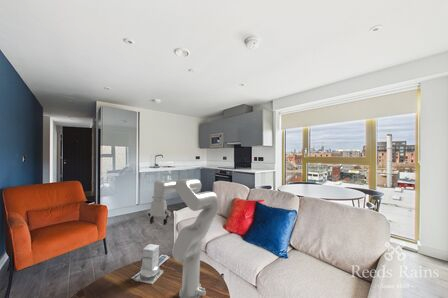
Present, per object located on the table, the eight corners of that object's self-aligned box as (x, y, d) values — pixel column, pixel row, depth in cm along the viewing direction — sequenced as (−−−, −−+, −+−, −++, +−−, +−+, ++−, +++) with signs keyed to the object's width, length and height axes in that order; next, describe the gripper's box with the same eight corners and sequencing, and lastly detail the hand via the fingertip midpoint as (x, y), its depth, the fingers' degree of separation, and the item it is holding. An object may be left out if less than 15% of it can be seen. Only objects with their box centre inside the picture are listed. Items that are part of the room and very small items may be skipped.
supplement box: (141, 269, 116) (142, 248, 116) (148, 262, 123) (149, 243, 124) (152, 271, 114) (152, 250, 115) (158, 264, 122) (159, 244, 122)
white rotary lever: (163, 272, 124) (163, 262, 124) (152, 284, 112) (152, 273, 112) (147, 269, 126) (147, 259, 126) (135, 280, 115) (135, 270, 115)
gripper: (144, 198, 125) (143, 224, 125) (168, 200, 122) (167, 227, 121) (151, 196, 132) (150, 220, 132) (173, 198, 129) (172, 223, 129)
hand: (158, 223), depth 127 cm, fingers open, 9 cm apart
